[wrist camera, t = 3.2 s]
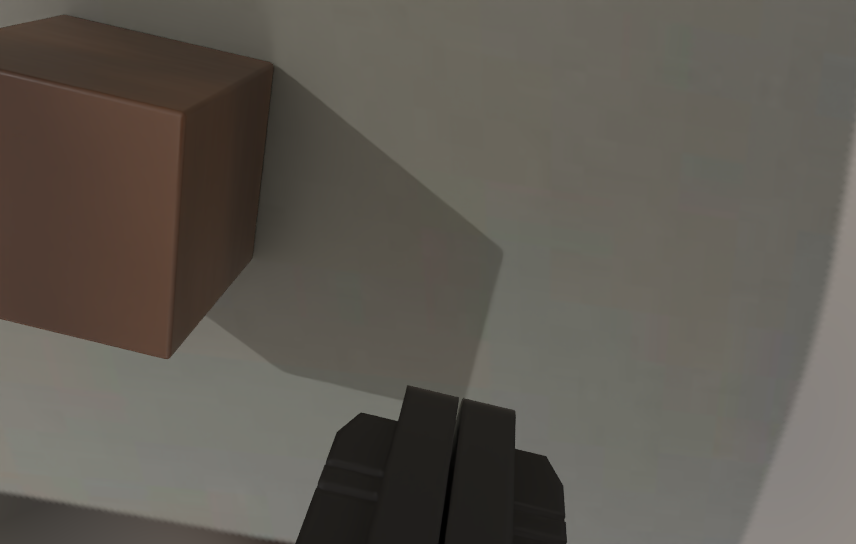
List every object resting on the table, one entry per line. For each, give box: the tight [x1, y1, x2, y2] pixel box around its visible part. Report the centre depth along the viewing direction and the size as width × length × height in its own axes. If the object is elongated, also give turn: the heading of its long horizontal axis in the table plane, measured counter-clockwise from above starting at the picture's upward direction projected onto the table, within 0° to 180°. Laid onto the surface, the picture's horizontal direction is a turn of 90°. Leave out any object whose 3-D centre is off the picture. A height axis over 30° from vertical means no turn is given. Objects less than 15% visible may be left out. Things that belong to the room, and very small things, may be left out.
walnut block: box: [0, 15, 274, 359], centre depth 16 cm, size 5×5×5 cm
